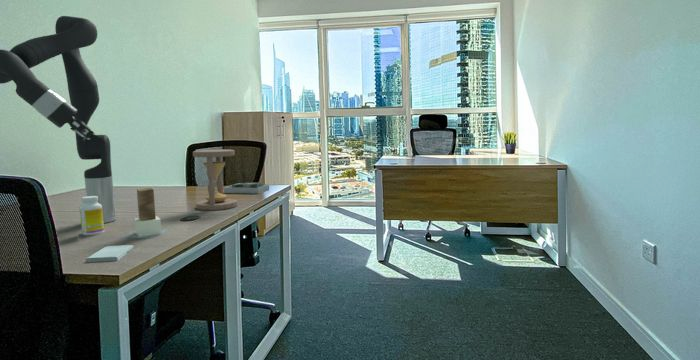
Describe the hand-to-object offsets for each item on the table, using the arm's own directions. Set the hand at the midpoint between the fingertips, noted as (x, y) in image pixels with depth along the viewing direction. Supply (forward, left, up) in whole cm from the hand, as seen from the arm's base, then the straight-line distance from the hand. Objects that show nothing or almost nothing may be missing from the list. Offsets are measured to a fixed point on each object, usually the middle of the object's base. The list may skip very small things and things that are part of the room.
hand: (101, 145), depth 142 cm
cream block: (+9, +7, -30) cm, 32 cm away
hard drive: (+13, -16, -31) cm, 37 cm away
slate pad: (+9, +7, -31) cm, 32 cm away
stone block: (+3, +99, -31) cm, 104 cm away
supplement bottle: (-11, +5, -31) cm, 33 cm away
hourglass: (+7, +57, -31) cm, 65 cm away
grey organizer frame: (+1, +101, -31) cm, 106 cm away
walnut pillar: (+9, +7, -25) cm, 28 cm away
